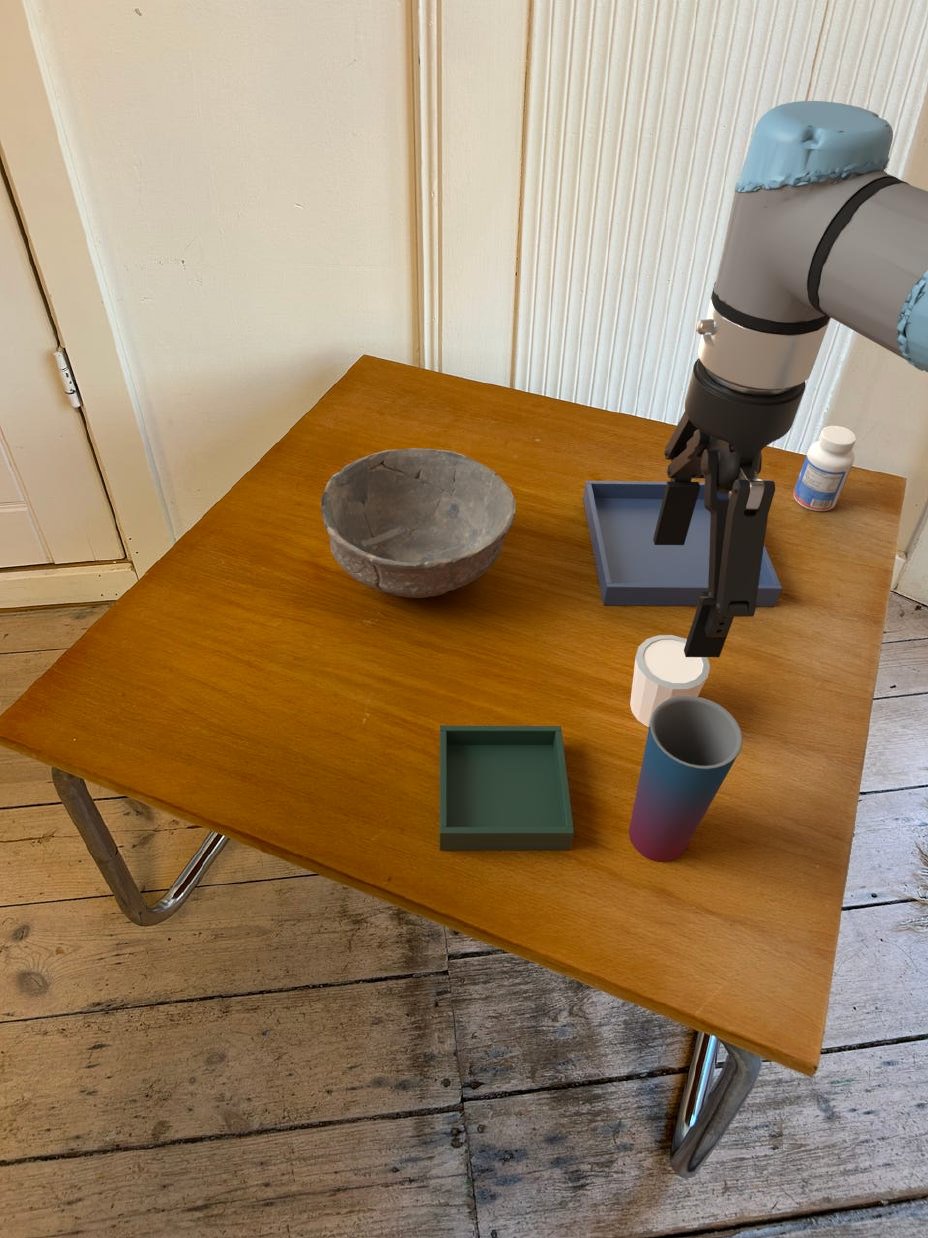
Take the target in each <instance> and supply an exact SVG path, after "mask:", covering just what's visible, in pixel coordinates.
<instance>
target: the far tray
mask: <svg viewBox="0 0 928 1238" xmlns="http://www.w3.org/2000/svg"><path fill="white" fill-rule="evenodd" d="M698 482H699V484H700V490H699V494H698V497H697V501H696V505H695V508H694V512H693V515H692V519H691V522H690V526H689V529H688V533H687V537H686V540H685V544H684V545H654V541H653V538H654V534H655V529H656V525H657V521H658V517H659V513H660V509H661V505H662V501H663V497H664V493H665V489H666V485H667V481H634V480H633V481H630V480H629V481H628V480H626V481H625V480H586V481H585V485H584V492H583V497H582V500H583V504H584V505H583V506H584V510H585V511H584V512H585V515H586V521H587V526H588V531H589V537H590V542H591V547H592V553H593V557H594V563H595V568H596V569H595V570H596V573H597V579H598V584H599V591H600V595H601V601H602V605H603V606H644V607H645V606H646V607H647V606H648V607H649V606H650V607H651V606H652V607H653V606H656V607H659V606H661V607H668V606H669V607H672V606H673V607H698V604H699V603H698V597H701V594H702V591H708V580H709V550H710V520H711V514H710V512H709V511H708V510H707V509H706V508H705V506H704V496H705V481H703V482H701V481H698ZM717 498H718V499H720V500H730V499H729V497H728V494H717ZM782 590H783V588H782V585H781V582H780V580H779V576H778V574H777V571H776V570H775V568H774V565H773V563H772V560H771V557H770V555H769V553H768V550H767V547H766V545H765V544H764V548H763V556H762V563H761V571H760V578H759V586H758V593H757V601H756V607H763V608H764V607H769V608H770V607H773V608H775V607H776V605H777V602H778V600H779V597H780V595H781V592H782Z"/></svg>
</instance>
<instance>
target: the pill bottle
mask: <svg viewBox="0 0 928 1238" xmlns="http://www.w3.org/2000/svg"><path fill="white" fill-rule="evenodd" d="M856 436H857V435H856V434H855V432H853V431H852V430H850V429H848V428H847V427H844V426H840V425H828V426H825V427H823V429H822V430H821V432H820V434H819V437H818V440H817V441H815V442H813V443H812V444H811V445H810V447H809V448H808V450H807V453H806V456H805V458H804V461H803V465H802V467H801V470H800V473H799V475H798V478H797V481H796V483H795V487H794V489H793V498H794V500H795V501H796V503H797V504H798V505H799V506H801V507H803V508H804V509H806V510H810V511H813V512H814V511H815V512H827V511H830V510H832V509H834V508H835V507H836V505H837V503H838V501H839V499H840V497H841V494H842V492H843V490H844V487H845V484H846V481H847V479H848V477H849V474H850V472H851V469H852V468H853V465H854V462H855V453H854V450H853V448H854V446H855V443H856V440H857V437H856Z"/></svg>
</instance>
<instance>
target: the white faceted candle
mask: <svg viewBox="0 0 928 1238" xmlns="http://www.w3.org/2000/svg"><path fill="white" fill-rule="evenodd" d="M686 641H687V638H684V637H681V636H678V635H674V634H658V635H655V636H652V637H649V638H646V639H645V640H644V641H643V642H642V643H641V644H640V645H639V646H638V647H637V650H636V654H635V657H634V658H635V659H634V667H633V677H632V685H631V692H630V693H631V694H630V702H629V705H630V709H631V713H632V715H633V716H634V717H635V719H636V720H637V721H638V722H639V723H640V724H642V725H644V726H645V727H647V728H649V726H650V720H651V717H652V714H653V712H654V711H655V709H656V708H657V707H658V706H659V705H660V704H661V703H662V702H664V701H666V700H668V699H670V698H673V697H677V696H696V697H699V695H700V693H701V691H702V690H703V687H704V685H705V683H706V681H707V679H708V678H709V673H710V670H711V669H710V668H711V664H710V661H709V657H685V653H684V648H685V645H686Z"/></svg>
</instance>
